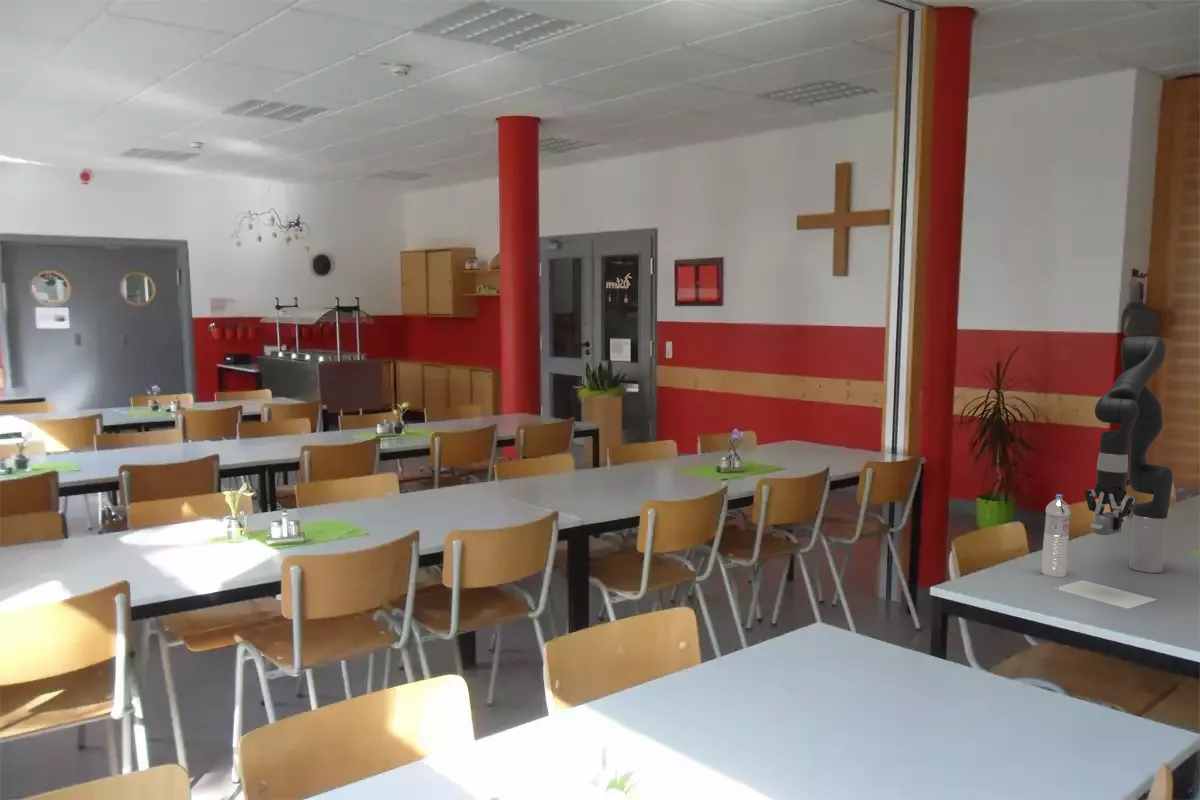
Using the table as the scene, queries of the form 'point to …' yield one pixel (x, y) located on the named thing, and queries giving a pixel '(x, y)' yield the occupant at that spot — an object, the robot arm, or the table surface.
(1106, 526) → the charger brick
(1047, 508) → the water bottle
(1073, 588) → the rubber mat
